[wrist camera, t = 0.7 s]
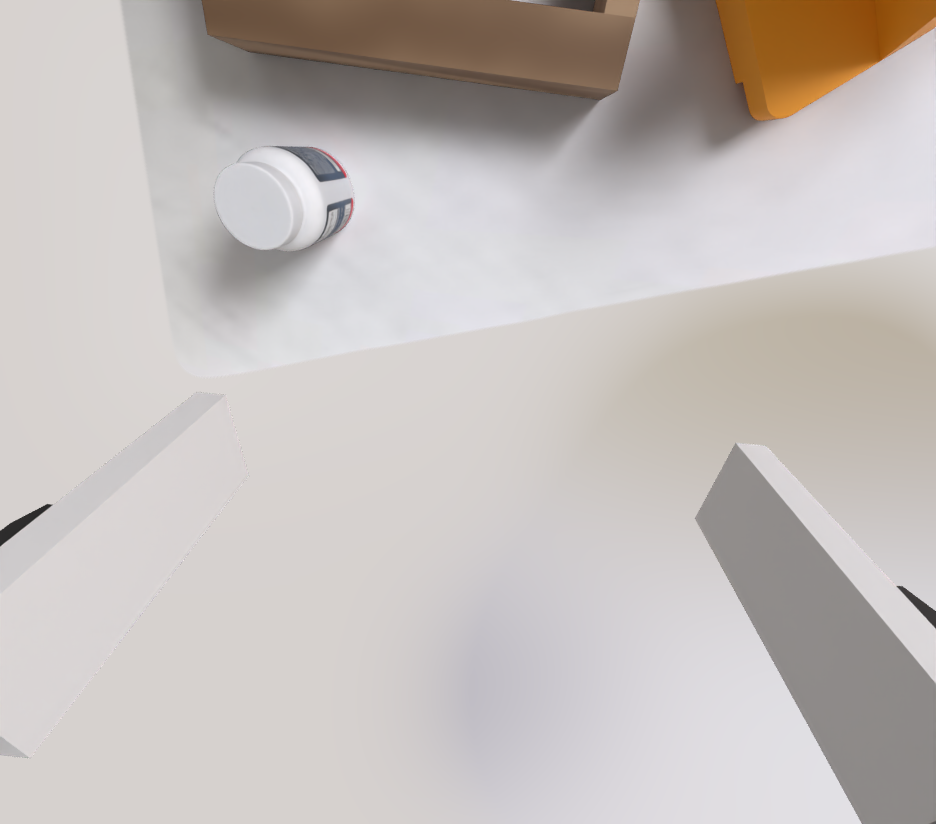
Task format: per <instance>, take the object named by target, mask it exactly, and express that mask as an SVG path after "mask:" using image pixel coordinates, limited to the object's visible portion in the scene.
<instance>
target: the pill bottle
mask: <svg viewBox="0 0 936 824" xmlns="http://www.w3.org/2000/svg"><path fill="white" fill-rule="evenodd" d="M214 203H215V207H216V210H217V213H218V216H219V218H220V219H221V221H222V223H223V225H224V226H225V228H226V229H227V230H228V231H229V232H230V234H231V235H232V236H233V237H235V238H236V239H237V240H238V241H240V242H241V243H243V244H245V245H246V246H248V247H251V248H254V249H258V250H272V249H277V250H281V251H298V250H301V249H305V248H307V247H309V246H311V245H313V244H315V243H317V242H319V241H321V240H323V239H325V238H327V237H329V236H331V235H333V234H335V233H337V232H338V231H340V230H341V229H343V228H344V227H345V226H346V225H347V223H348V222H349V220H350V219H351V217H352V214H353V210H354V204H355V197H354V190H353V186H352V183H351V180H350V178H349V176H348V174H347V172H346V170H345V169H344V167H343V166H342V165H341V163H340V162H339V161H338V160H337V159H336V158H334V157H333V156H332V155H330V154H329V153H327V152H325V151H323V150H321V149H318V148H313V147H281V146H264V147H258V148H255V149H252V150H250V151H248V152H246V153H245V154H243V155H242V156H241V157H240V158H239V159H238V161H237V162H236V163H235V164H232V165H230V166H228V167H226V168H225V169H224V170H222V172H221V173H220V174H219V175H218V177H217V179H216V182H215V186H214Z"/></svg>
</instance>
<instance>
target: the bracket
mask: <svg viewBox="0 0 936 824" xmlns="http://www.w3.org/2000/svg"><path fill="white" fill-rule="evenodd" d="M716 4H717V8H718V12H719V17H720V21H721V25H722V29H723V33H724V37H725V41H726V46H727V50H728V54H729V58H730V62H731V66H732V70H733V75H734V79H735V83H736V84H737V83H740V82H743V86H744V90H745V95H746V99H747V103H748V107H749V111H750V114H751V116H752V117H753V118H754V119H756V120H759V121H764V120H772V119H780V118H786V117H789V116H791V115H793V114H794V113H796V112H798V111H799V110H801V109H802V108H804V107H806V106H807V105H809V104H811V103H812V102H814V101H816V100H817V99H819V98H821V97H822V96H824V95H825V94H827V93H829V92H830V91H832V90H834V89H835V88H837V87H839V86H840V85H842V84H844V83H845V82H847V81H848V80H850V79H852V78H853V77H855V76H857V75H858V74H860V73H862V72H863V71H865V70H867V69H868V68H870V67H871V66H873V65H875V64H876V63H878V62H880V61H881V60H883V59H885V58H886V57H888V56H890V55H891V54H893V53H894V52H896V51H898V50H899V49H901V48H903V47H904V46H906V45H908V44H909V43H911V42H912V41H914V40H916V39H917V38H919V37H921V36H922V35H924V34H926V33H927V32H929V31H931V30H932V29H934V28H935V27H936V0H716Z"/></svg>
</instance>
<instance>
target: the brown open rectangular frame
mask: <svg viewBox="0 0 936 824" xmlns="http://www.w3.org/2000/svg"><path fill="white" fill-rule="evenodd" d="M639 2H640V0H595V4H594V9H593V12H591V11H583V10H576V9H569V8H562V7H555V6H547V5H540V4H533V3H526V2H519V1H511V0H202V5H203V10H204V16H205V22H206V28H207V33H208V35H210V36H212V37H214V38H217V39H219V40H222V41H224V42H226V43H229V44H231V45H234V46H236V47H238V48H241V49H243V50H246V51H248V52H254V53H261V54H269V55H276V56H283V57H291V58H298V59H305V60H313V61H320V62H327V63H335V64H342V65H349V66H357V67H364V68H371V69H378V70H386V71H393V72H400V73H408V74H415V75H422V76H430V77H437V78H444V79H452V80H459V81H466V82H474V83H481V84H488V85H496V86H503V87H510V88H518V89H525V90H532V91H539V92H547V93H554V94H561V95H569V96H576V97H583V98H591V99H598V100H601V99H603V98H605V97H607V96H609V95H611V94H612V93H614V92H616V91H618V87H619V83H620V79H621V74H622V70H623V66H624V62H625V58H626V54H627V50H628V46H629V42H630V38H631V34H632V30H633V26H634V22H635V18H636V14H637V10H638V6H639Z"/></svg>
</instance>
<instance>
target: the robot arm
mask: <svg viewBox="0 0 936 824" xmlns="http://www.w3.org/2000/svg"><path fill="white" fill-rule="evenodd" d="M248 476H249V473H248V470H247V466H246V463H245V460H244V456H243V453H242V449H241V446H240V442H239V439H238V435H237V432H236V428H235V425H234V421H233V418H232V414H231V411H230V408H229V404H228V400H227V397H226V395H224V394H213V393H202V392H196V393H194V394H193V395H192V396H191V397H190V398H188V399H187V400H186V401H185V402H183V403H182V404H181V405H179V406H178V407H177V408H175V409H174V410H173V411H172V412H170V413H169V414H168V415H167V416H165V417H164V418H163V419H161V420H160V421H159V422H158V423H156V424H155V425H154V426H153V427H151V428H150V429H149V430H148V431H146V432H145V433H144V434H143V435H141V436H140V437H139V438H137V439H136V440H135V441H134V442H132V443H131V444H130V445H129V446H127V447H126V448H125V449H123V450H122V451H121V452H120V453H118V454H117V455H116V456H115V457H113V458H112V459H111V460H109V461H108V462H107V463H106V464H105V465H103V466H102V467H101V468H99V469H98V470H97V471H96V472H94V473H93V474H92V475H90V476H89V477H88V478H87V479H85V480H84V481H83V482H82V483H80V484H79V485H78V486H76V487H75V488H74V489H73V490H71V491H70V492H69V493H68V494H66V495H65V496H64V497H62V498H61V499H60V500H59V501H58V502H56V503H55V504H54V505H50V504H47V505H45V506H43V507H41V508H39V509H37V510H35V511H33V512H31V513H29V514H27V515H25V516H24V517H22V518H20V519H18V520H16V521H14V522H12V523H10V524H9V525H7V526H6V527H5V528H4V529H2V530H1V531H0V755H4V756H14V757H24V758H31V757H32V755H33V754H34V753H35V751H36V750H37V749H38V748H39V746H40V745H41V744H42V742H43V741H44V740H45V739H46V737H47V736H48V735H49V733H50V732H51V731H52V729H53V728H54V727H55V726H56V724H57V723H58V722H59V720H60V719H61V718H62V717H63V715H64V714H65V713H66V711H67V710H68V709H69V707H70V706H71V705H72V704H73V702H74V701H75V700H76V698H77V697H78V696H79V695H80V693H81V692H82V691H83V689H84V688H85V687H86V686H87V684H88V683H89V682H90V680H91V679H92V678H93V676H94V675H95V674H96V672H97V671H98V670H99V669H100V667H101V666H102V665H103V663H104V662H105V661H106V660H107V658H108V657H109V656H110V654H111V653H112V652H113V651H114V649H115V648H116V647H117V645H118V644H119V643H120V641H121V640H122V639H123V638H124V636H125V635H126V634H127V633H128V631H129V630H130V629H131V627H132V626H133V625H134V623H135V622H136V621H137V619H138V618H139V617H140V616H141V614H142V613H143V612H144V610H145V609H146V608H147V607H148V605H149V604H150V603H151V601H152V600H153V599H154V598H155V596H156V595H157V594H158V592H159V591H160V590H161V589H162V587H163V586H164V585H165V583H166V582H167V581H168V580H169V578H170V577H171V575H172V574H173V573H174V572H175V570H176V569H177V568H178V567H179V565H180V564H181V563H182V561H183V560H184V559H185V558H186V556H187V555H188V554H189V552H190V551H191V550H192V548H193V547H194V546H195V545H196V543H197V542H198V541H199V539H200V538H201V537H202V536H203V534H204V533H205V532H206V530H207V529H208V528H209V527H210V525H211V524H212V522H213V521H214V520H215V519H216V518H217V516H218V515H219V514H220V512H221V511H222V510H223V508H224V507H225V506H226V505H227V503H228V502H229V501H230V499H231V498H232V497H233V496H234V494H235V493H236V492H237V490H238V489H239V488H240V486H241V485H242V484H243V483H244V481H245V480H246V479H247V477H248ZM695 519H696V521H697V523H698V525H699V526H700V528H701V530H702V532H703V534H704V536H705V538H706V539H707V541H708V543H709V545H710V547H711V549H712V550H713V552H714V554H715V556H716V558H717V559H718V561H719V563H720V565H721V567H722V569H723V571H724V572H725V574H726V576H727V578H728V580H729V582H730V583H731V585H732V587H733V589H734V591H735V592H736V594H737V596H738V598H739V600H740V602H741V603H742V605H743V607H744V609H745V611H746V613H747V614H748V616H749V618H750V620H751V621H752V623H753V625H754V627H755V629H756V631H757V633H758V635H759V636H760V638H761V640H762V642H763V644H764V646H765V647H766V649H767V651H768V653H769V655H770V656H771V658H772V660H773V662H774V664H775V666H776V667H777V669H778V671H779V673H780V675H781V676H782V678H783V680H784V682H785V684H786V686H787V688H788V689H789V691H790V693H791V695H792V697H793V699H794V700H795V702H796V704H797V706H798V708H799V709H800V711H801V713H802V715H803V717H804V719H805V720H806V722H807V724H808V726H809V728H810V730H811V732H812V733H813V735H814V737H815V739H816V741H817V742H818V744H819V746H820V748H821V750H822V752H823V753H824V755H825V757H826V759H827V761H828V763H829V764H830V766H831V768H832V770H833V772H834V773H835V775H836V777H837V779H838V781H839V783H840V785H841V786H842V788H843V790H844V792H845V794H846V795H847V797H848V799H849V801H850V803H851V805H852V806H853V808H854V810H855V812H856V814H857V815H858V817H859V819H860V821H861V823H862V824H936V611H935V610H933V609H932V608H931V607H929V606H928V605H927V604H925V603H924V602H923V601H921V600H920V599H918V598H917V597H916V596H915V595H913V594H912V593H911V592H909V591H908V590H907V589H905V588H904V587H903V586H896V585H895V584H894V583H893V582H892V581H891V580H890V579H889V578H888V577H887V576H886V575H885V574H884V573H883V572H882V570H881V569H880V568H879V567H878V566H877V565H876V564H875V563H874V562H873V561H872V560H871V559H870V557H869V556H868V555H867V554H866V553H865V552H864V551H863V550H862V549H861V548H860V547H859V546H858V545H857V543H856V542H855V541H854V540H853V539H852V538H851V537H850V536H849V535H848V534H847V533H846V532H845V531H844V529H843V528H842V527H841V526H840V525H839V524H838V523H837V522H836V521H835V520H834V519H833V518H832V517H831V515H830V514H829V513H828V512H827V511H826V510H825V509H824V508H823V507H822V506H821V505H820V504H819V502H818V501H817V500H816V499H815V498H814V497H813V496H812V495H811V494H810V493H809V492H808V491H807V489H805V487H804V486H803V485H802V484H801V483H800V482H799V481H798V480H797V479H796V478H795V477H794V475H793V474H792V473H791V472H790V471H789V470H788V469H787V468H786V467H785V466H784V465H783V464H782V463H781V461H780V460H779V459H778V458H777V457H776V456H775V455H774V454H773V453H772V452H771V451H770V450H769V449H768V447H767V446H764V445H753V444H743V443H735V445H734V447H733V449H732V451H731V452H730V454H729V456H728V458H727V460H726V462H725V464H724V465H723V467H722V470H721V471H720V473H719V475H718V477H717V479H716V480H715V482H714V484H713V486H712V488H711V490H710V492H709V494H708V495H707V497H706V499H705V501H704V503H703V505H702V507H701V508H700V510H699V512H698V514H697V516H696V518H695Z"/></svg>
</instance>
